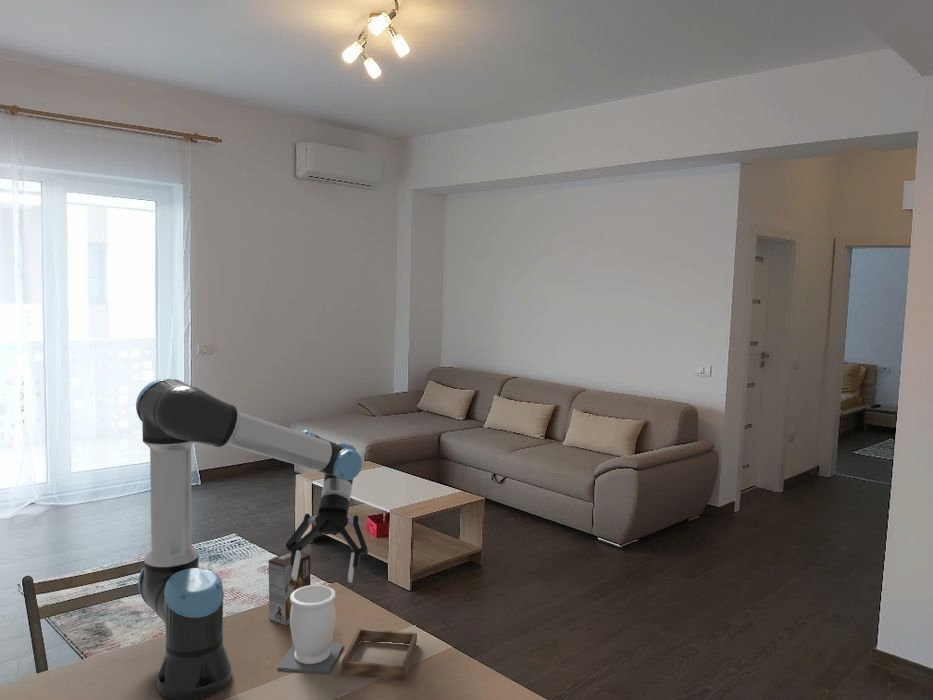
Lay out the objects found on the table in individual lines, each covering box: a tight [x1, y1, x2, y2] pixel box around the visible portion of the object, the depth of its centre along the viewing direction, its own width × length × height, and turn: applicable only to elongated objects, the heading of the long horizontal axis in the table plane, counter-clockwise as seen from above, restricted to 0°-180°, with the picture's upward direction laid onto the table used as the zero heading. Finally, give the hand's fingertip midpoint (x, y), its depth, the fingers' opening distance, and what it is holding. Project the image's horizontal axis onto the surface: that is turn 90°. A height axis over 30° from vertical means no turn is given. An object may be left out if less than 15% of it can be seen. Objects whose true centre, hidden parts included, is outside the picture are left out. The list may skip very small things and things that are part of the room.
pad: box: [276, 643, 344, 675], centre depth 165 cm, size 12×12×1 cm
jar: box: [289, 584, 336, 664], centre depth 164 cm, size 11×10×15 cm
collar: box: [340, 627, 418, 682], centre depth 165 cm, size 15×16×3 cm
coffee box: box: [268, 551, 311, 626], centre depth 184 cm, size 9×6×16 cm
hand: (321, 579), depth 170 cm, fingers open, 13 cm apart
